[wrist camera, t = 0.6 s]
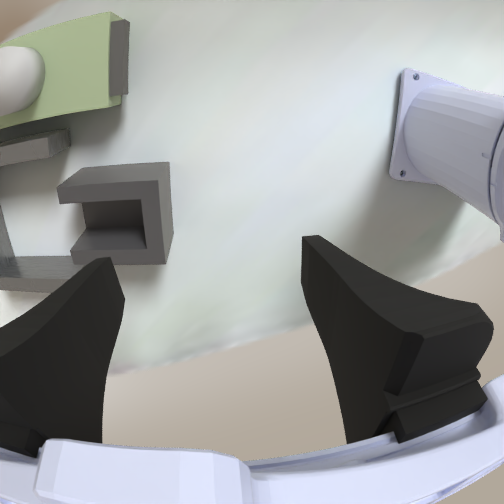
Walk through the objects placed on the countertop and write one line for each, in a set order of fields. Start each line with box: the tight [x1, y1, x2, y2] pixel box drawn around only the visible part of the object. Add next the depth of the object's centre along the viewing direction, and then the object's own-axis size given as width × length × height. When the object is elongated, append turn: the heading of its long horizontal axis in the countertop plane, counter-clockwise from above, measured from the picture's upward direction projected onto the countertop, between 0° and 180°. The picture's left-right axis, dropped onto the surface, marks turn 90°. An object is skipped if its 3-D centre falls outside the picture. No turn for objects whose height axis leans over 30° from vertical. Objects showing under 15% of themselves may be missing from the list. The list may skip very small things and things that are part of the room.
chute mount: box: [0, 128, 86, 293], centre depth 17 cm, size 9×11×3 cm
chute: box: [57, 162, 174, 265], centre depth 18 cm, size 6×5×4 cm
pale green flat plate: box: [0, 12, 130, 129], centre depth 12 cm, size 12×6×4 cm, turn 88°
